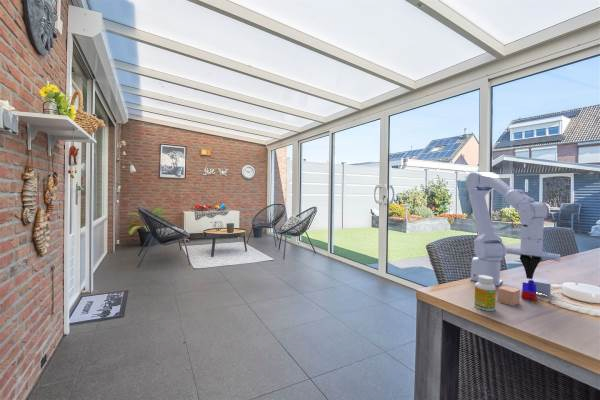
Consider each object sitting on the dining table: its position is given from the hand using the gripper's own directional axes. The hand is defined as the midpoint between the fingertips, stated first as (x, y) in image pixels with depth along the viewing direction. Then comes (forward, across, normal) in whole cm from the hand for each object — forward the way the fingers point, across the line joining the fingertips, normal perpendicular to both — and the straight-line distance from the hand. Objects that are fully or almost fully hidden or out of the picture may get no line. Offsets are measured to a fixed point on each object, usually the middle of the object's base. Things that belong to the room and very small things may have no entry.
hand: (529, 278), depth 96 cm
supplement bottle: (+7, -8, -20) cm, 23 cm away
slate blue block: (+7, +2, +9) cm, 12 cm away
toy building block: (+7, 0, 0) cm, 7 cm away
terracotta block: (+7, -4, -9) cm, 12 cm away
